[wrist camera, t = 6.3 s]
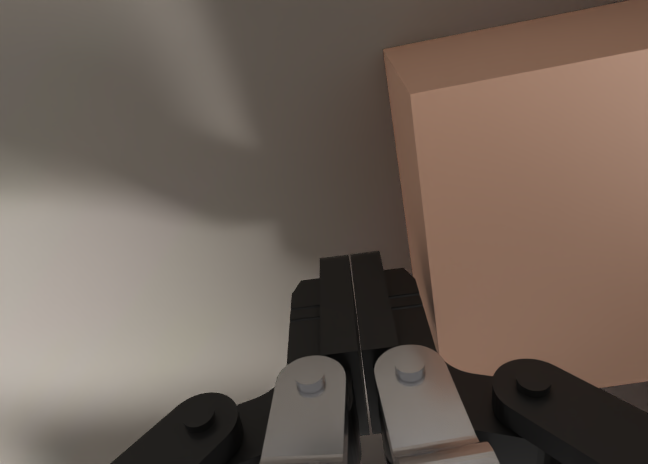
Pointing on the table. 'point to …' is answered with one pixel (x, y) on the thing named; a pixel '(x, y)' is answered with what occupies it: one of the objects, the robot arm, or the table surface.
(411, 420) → the robot arm
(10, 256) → the table surface
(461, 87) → the block
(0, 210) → the table surface
